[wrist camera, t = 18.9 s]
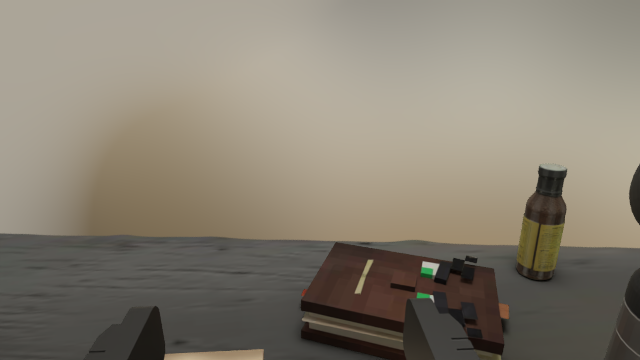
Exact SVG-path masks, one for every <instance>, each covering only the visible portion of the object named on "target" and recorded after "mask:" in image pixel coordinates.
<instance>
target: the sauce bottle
mask: <svg viewBox="0 0 640 360" xmlns="http://www.w3.org/2000/svg"><path fill="white" fill-rule="evenodd" d="M566 173H567V168H566V167H564V166H561V165H557V164H541V165H540V166H539V171H538V174H539V178H538V183H537V187H536V192H535V193H534V194H533V195H532V196H531V197H530V198H529V199H528V201H527V204H526V210H525V213H524V217H523V223H522V230H521V236H520V241H519V247H518V253H517V263H516V268H517V270H518V272H519V273H520V274H521V275H523V276H525V277H528V278H530V279H534V280H547V279H549V278H551V277H552V276H553V274H554V269H555V267H556V262H557V257H558V252H559V247H560V242H561V237H562V233H563V228H564V223H565V214H566V204H565V202H564V200H563V198H562V196H561V195H562V187H563V182H564V178H565V177H566Z"/></svg>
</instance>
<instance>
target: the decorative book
mask: <svg viewBox="0 0 640 360" xmlns="http://www.w3.org/2000/svg"><path fill="white" fill-rule="evenodd" d="M465 261H469V262H474V263H477V258H475V257H471V256H466V259H465V260H460V259H456V258H454V259H453V262H451V261H445V260H439V259H433V258H427V257H421V256H415V255H409V254H403V253H397V252H391V251H385V250H379V249H373V248H367V247H361V246H355V245H349V244H343V243H337V242H336V243H335V245H334V246H333V248H332V250H331V251H330V253H329V255H328V256H327V258H326V260H325V261H324V263H323V265H322V266H321V268H320V270H319V271H318V273H317V275H316V276H315V278H314V280H313V281H312V283H311V285H310V286H309V288H308V290H307V289H304V290H303V292H302V295H301V296H303V298H302V300H301V311H306V313H305V315H304V316H303V318H302V321H306V323H305V325H304V327H303V328H302V330H301V338H304V339H308V340H312V341H316V342H320V343H324V344H328V345H332V346H337V347H341V348H345V349H349V350H353V351H357V352H361V353H365V354H369V355H373V356H377V357H381V358H385V359H389V360H406V357H405V353H404V347H403V330H404V320H405V310H406V302H407V299H410V298H431V299H432V300H433V302H434V304H435V306H436V308H437V310H438V312H439V314H447V313H449V314H450V315H451V316H452V317H453V318H454V319H455V320H457V321H458V322H459V323H460V324H461V325H462V327H463V329H464V331H465V333H466V334H467V336H468V340H470V342H471V344H472V345H473V347H474V351H476V353H477V355H478V357H479V358H480V360H501V355H502V353H503V348H504V338H503V331H502V324H501V317H502V318H506V319H509V305H505V304H501V303H499V302H498V295H497V288H496V280H495V273H494V269H492V268H486V267H481V266H475V265H469V264H464V262H465Z"/></svg>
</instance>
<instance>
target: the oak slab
mask: <svg viewBox="0 0 640 360" xmlns="http://www.w3.org/2000/svg"><path fill="white" fill-rule="evenodd" d="M164 360H264V349H259V350H239V351H219V352H198V353H178V354H165V357H164Z"/></svg>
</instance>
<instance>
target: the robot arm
mask: <svg viewBox="0 0 640 360" xmlns="http://www.w3.org/2000/svg"><path fill="white" fill-rule="evenodd" d="M629 199H630V205H631V209H632V213H633V215H634V217H635V219H636V221H637V222H638V223H639V225H640V165H639V166H638V168H637V170H636V172H635V174H634V176H633V179H632V182H631V186H630V192H629ZM403 347H404V353H405V357H406V360H480V358H479V357H478V355H477V353H476V351H474V347H473V345H472V344H471V342H470V340H468V336H467V334H466V333H465V331H464V329H463V327H462V325H461V324H460V323H459V322H458V321H457V320H455V319H454V318H453V317H452V316H451V315H450V314H449V313H447V314H439V312H438V310H437V308H436V306H435V304H434V302H433V300H432V299H431V298H410V299H407V302H406V310H405V320H404V330H403ZM164 357H165V341H164V335H163V329H162V324H161V318H160V312H159V309H158V307H157V306H147V307H132V308H130V309H129V311H128V313H127V314H126V316H125V318H124V320H123V321H122V323H121V324H114V325H111V326H110V327H109V328H108V329H107V330H105V331H104V332H103V333H102V334H101V335H100V336H98V338H97V339H96V341H95V342H94V344H93V346H92V347H91V349H90V350H89V354H87V355H86V357H85V358H84V360H164ZM604 360H640V268H639V269H638V270H636V271H635V272H634V273H633V275H632V276H631V278H630V281H629V283H628V287H627V290H626V293H625V296H624V299H623V302H622V305H621V309H620V312H619V315H618V318H617V321H616V324H615V327H614V330H613V333H612V336H611V340H610V343H609V346H608V349H607V352H606V355H605V358H604Z"/></svg>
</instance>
